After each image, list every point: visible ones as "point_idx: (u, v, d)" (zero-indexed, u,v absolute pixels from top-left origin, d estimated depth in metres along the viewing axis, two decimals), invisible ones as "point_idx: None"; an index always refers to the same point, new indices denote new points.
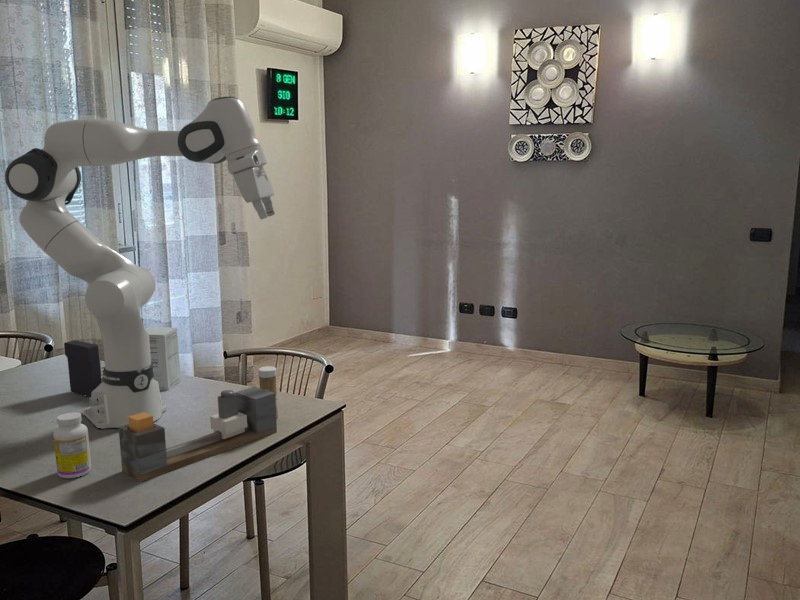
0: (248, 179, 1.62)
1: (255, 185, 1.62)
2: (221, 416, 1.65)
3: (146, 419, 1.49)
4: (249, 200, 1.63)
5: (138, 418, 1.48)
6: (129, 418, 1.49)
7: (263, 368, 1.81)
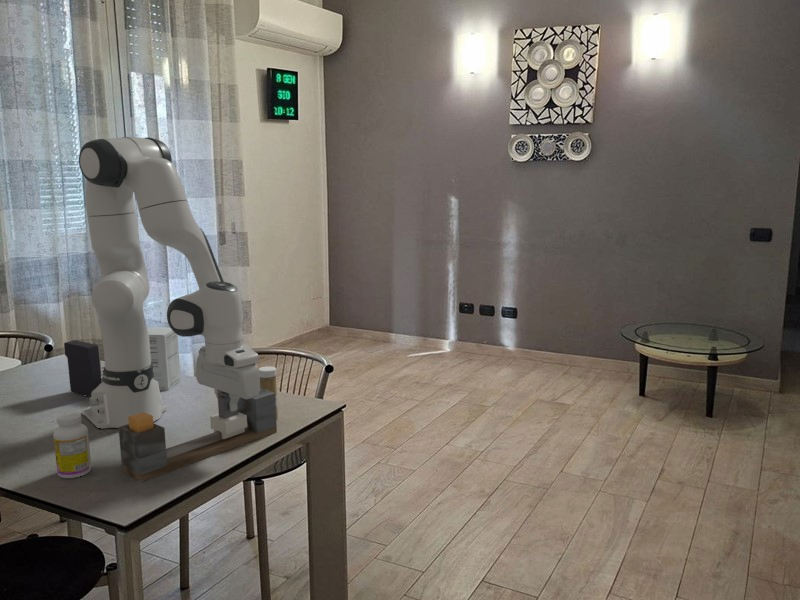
0: (254, 376, 1.59)
1: (259, 383, 1.60)
2: (221, 416, 1.65)
3: (146, 419, 1.49)
4: (250, 397, 1.59)
5: (138, 418, 1.48)
6: (129, 418, 1.49)
7: (263, 368, 1.81)
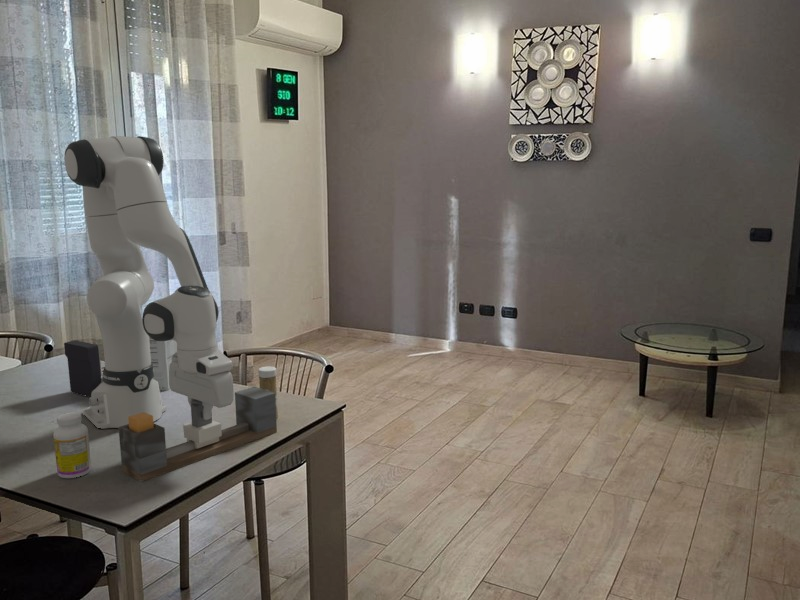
0: (228, 384, 1.54)
1: (233, 391, 1.55)
2: (194, 425, 1.60)
3: (146, 419, 1.49)
4: (223, 405, 1.54)
5: (138, 418, 1.48)
6: (129, 418, 1.49)
7: (263, 368, 1.81)
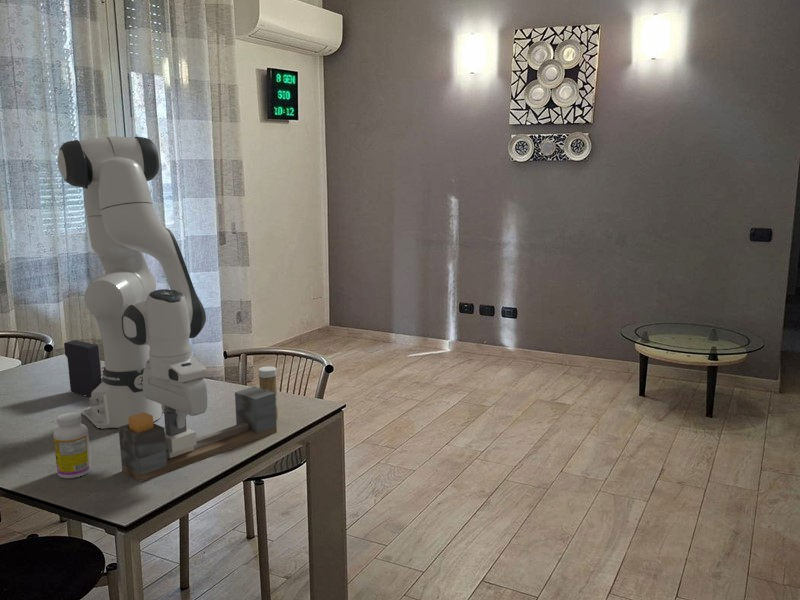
0: (201, 391, 1.49)
1: (206, 398, 1.50)
2: (168, 433, 1.55)
3: (146, 419, 1.49)
4: (196, 414, 1.49)
5: (138, 418, 1.48)
6: (129, 418, 1.49)
7: (263, 368, 1.81)
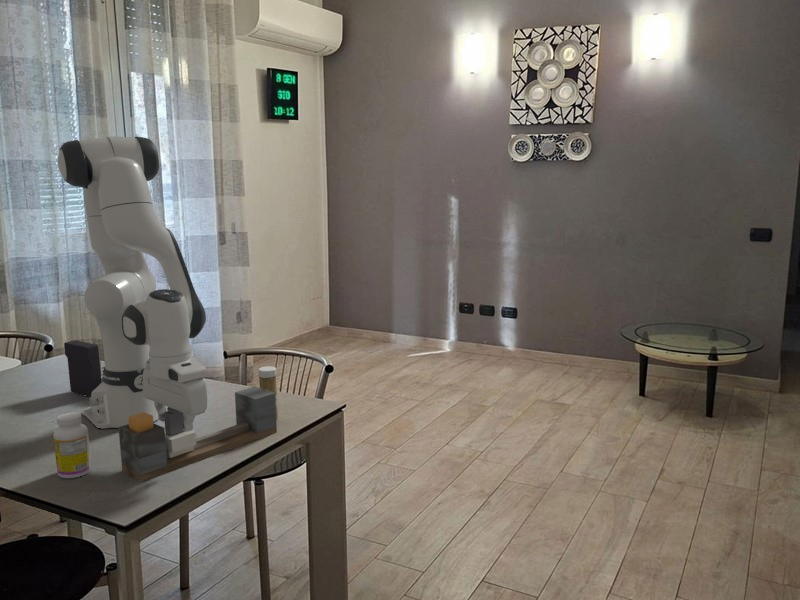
0: (201, 391, 1.49)
1: (206, 398, 1.50)
2: (168, 433, 1.55)
3: (146, 419, 1.49)
4: (196, 414, 1.48)
5: (138, 418, 1.48)
6: (129, 418, 1.49)
7: (263, 368, 1.81)
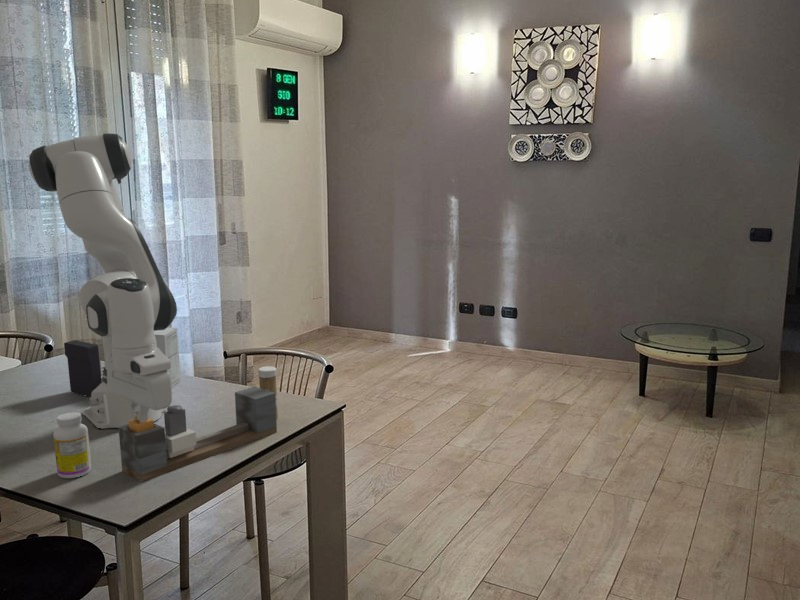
0: (165, 385, 1.42)
1: (171, 392, 1.43)
2: (168, 433, 1.55)
3: (146, 423, 1.49)
4: (160, 408, 1.42)
5: (138, 422, 1.48)
6: (129, 422, 1.49)
7: (263, 368, 1.81)
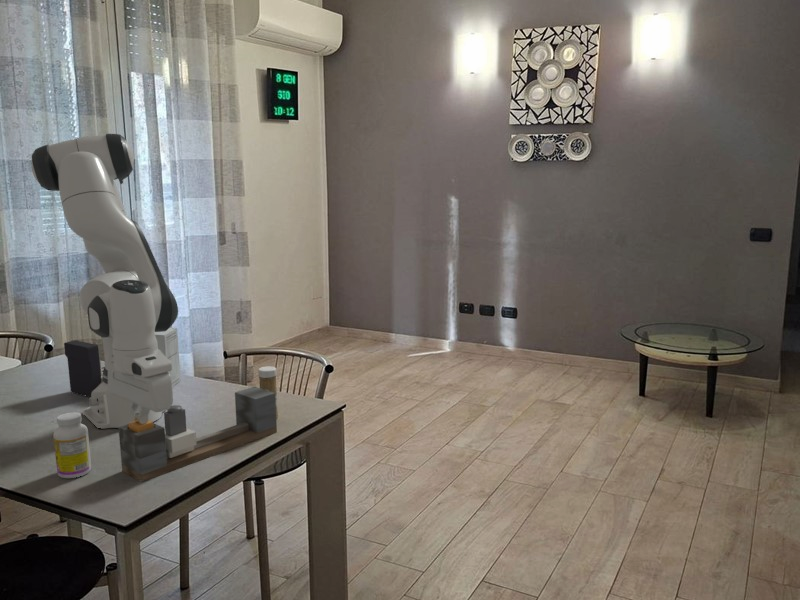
0: (166, 386, 1.42)
1: (172, 394, 1.43)
2: (168, 433, 1.55)
3: (146, 425, 1.49)
4: (161, 410, 1.42)
5: (139, 424, 1.48)
6: (129, 424, 1.49)
7: (263, 368, 1.81)
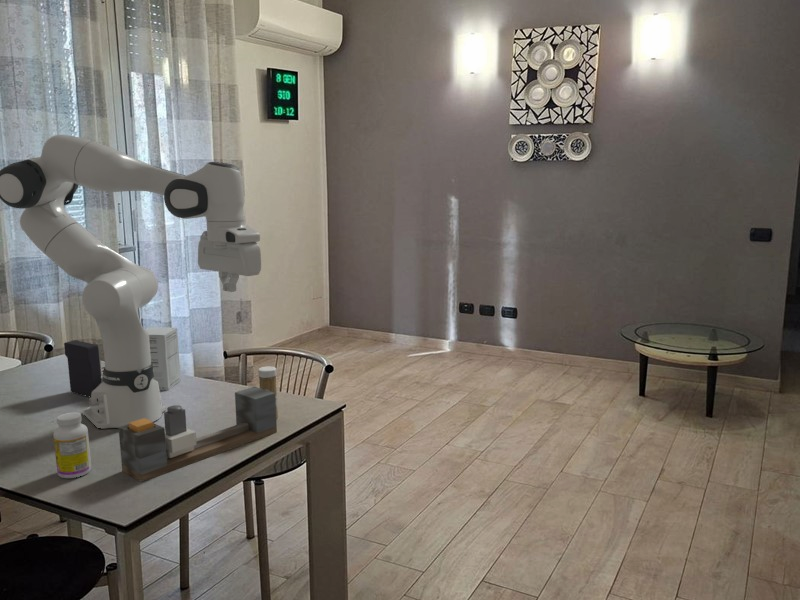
0: (256, 253, 1.60)
1: (260, 261, 1.61)
2: (168, 433, 1.55)
3: (146, 425, 1.49)
4: (251, 274, 1.60)
5: (139, 424, 1.48)
6: (129, 424, 1.49)
7: (263, 368, 1.81)
